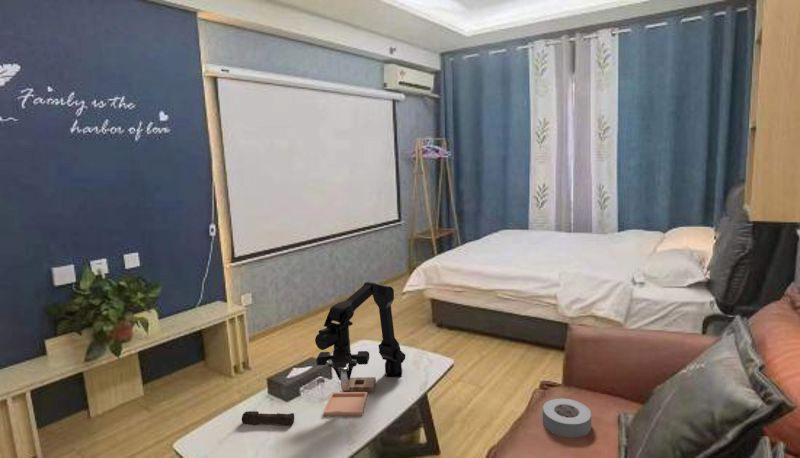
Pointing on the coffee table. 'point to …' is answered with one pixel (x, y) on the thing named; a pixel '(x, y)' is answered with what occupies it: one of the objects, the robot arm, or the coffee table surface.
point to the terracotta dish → (346, 404)
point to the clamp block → (362, 384)
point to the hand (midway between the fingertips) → (344, 379)
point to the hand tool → (267, 418)
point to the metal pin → (344, 378)
